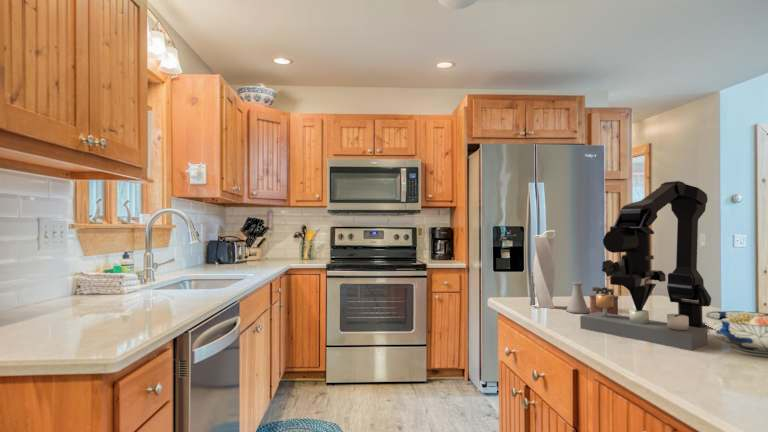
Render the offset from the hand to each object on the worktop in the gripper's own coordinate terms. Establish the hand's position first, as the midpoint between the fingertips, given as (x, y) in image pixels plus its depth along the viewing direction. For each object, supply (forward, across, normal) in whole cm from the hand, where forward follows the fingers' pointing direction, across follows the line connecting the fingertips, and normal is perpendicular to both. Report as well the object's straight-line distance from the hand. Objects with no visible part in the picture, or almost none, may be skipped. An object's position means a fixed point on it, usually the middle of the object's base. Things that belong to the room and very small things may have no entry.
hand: (639, 310), depth 112 cm
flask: (+7, -16, -26) cm, 32 cm away
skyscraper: (+7, -15, -38) cm, 42 cm away
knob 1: (+4, 0, -9) cm, 10 cm away
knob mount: (+7, 0, 0) cm, 7 cm away
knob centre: (+7, 0, 0) cm, 7 cm away
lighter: (+7, -12, -16) cm, 21 cm away
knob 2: (+7, 0, +9) cm, 11 cm away
